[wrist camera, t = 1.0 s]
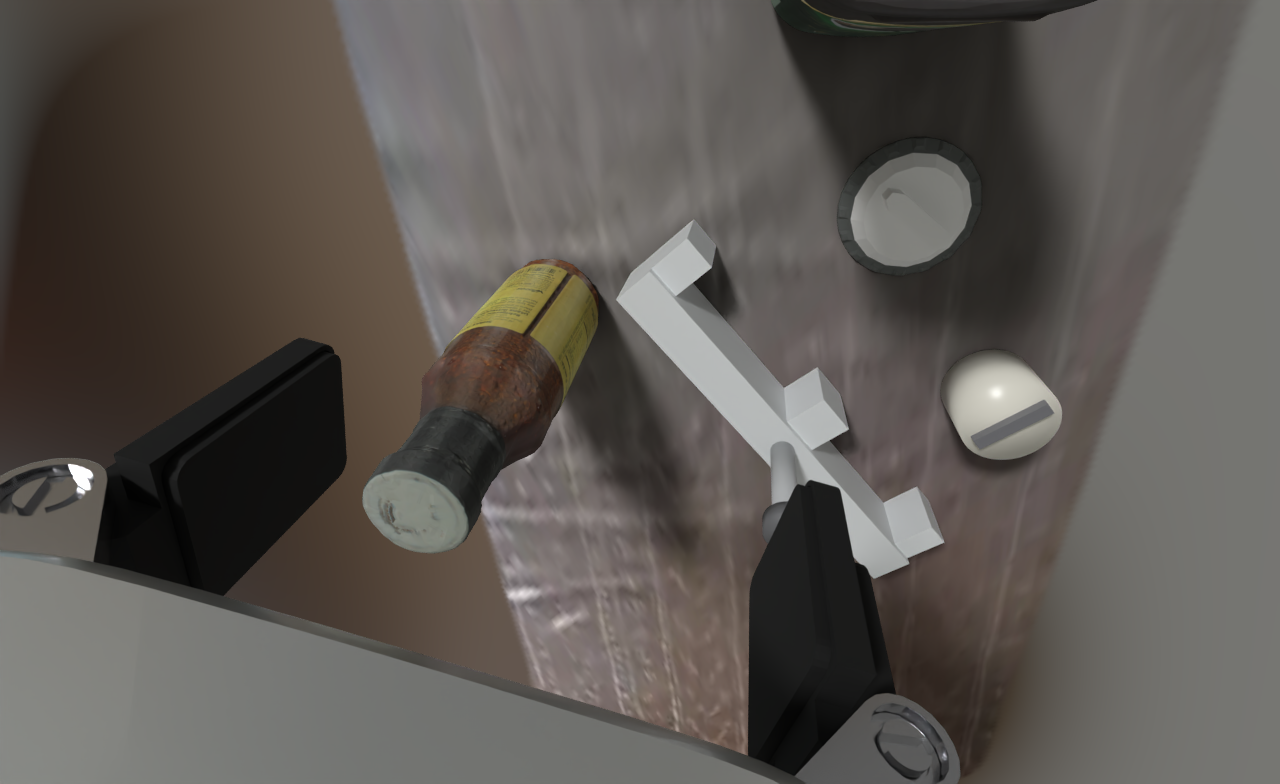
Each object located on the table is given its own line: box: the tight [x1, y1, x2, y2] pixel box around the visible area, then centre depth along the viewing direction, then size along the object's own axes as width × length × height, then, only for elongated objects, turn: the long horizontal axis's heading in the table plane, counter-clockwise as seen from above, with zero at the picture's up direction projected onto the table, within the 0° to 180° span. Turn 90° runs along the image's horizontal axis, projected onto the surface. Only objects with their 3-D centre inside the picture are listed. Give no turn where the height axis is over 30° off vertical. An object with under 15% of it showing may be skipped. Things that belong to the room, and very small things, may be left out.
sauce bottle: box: [362, 259, 599, 553], centre depth 29 cm, size 7×6×20 cm
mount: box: [616, 219, 944, 579], centre depth 33 cm, size 5×25×12 cm, turn 42°
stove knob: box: [837, 137, 982, 275], centre depth 31 cm, size 7×7×3 cm
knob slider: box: [940, 349, 1062, 460], centre depth 34 cm, size 5×5×4 cm
